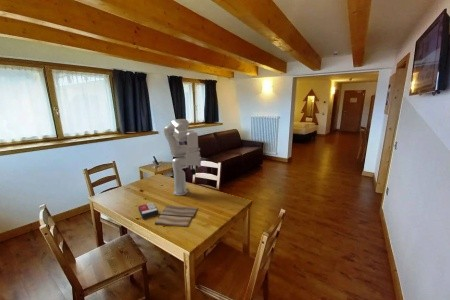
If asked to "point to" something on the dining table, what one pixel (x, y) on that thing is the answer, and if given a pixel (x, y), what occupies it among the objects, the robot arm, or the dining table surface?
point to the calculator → (148, 210)
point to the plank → (173, 220)
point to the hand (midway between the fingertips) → (193, 174)
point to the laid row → (179, 211)
